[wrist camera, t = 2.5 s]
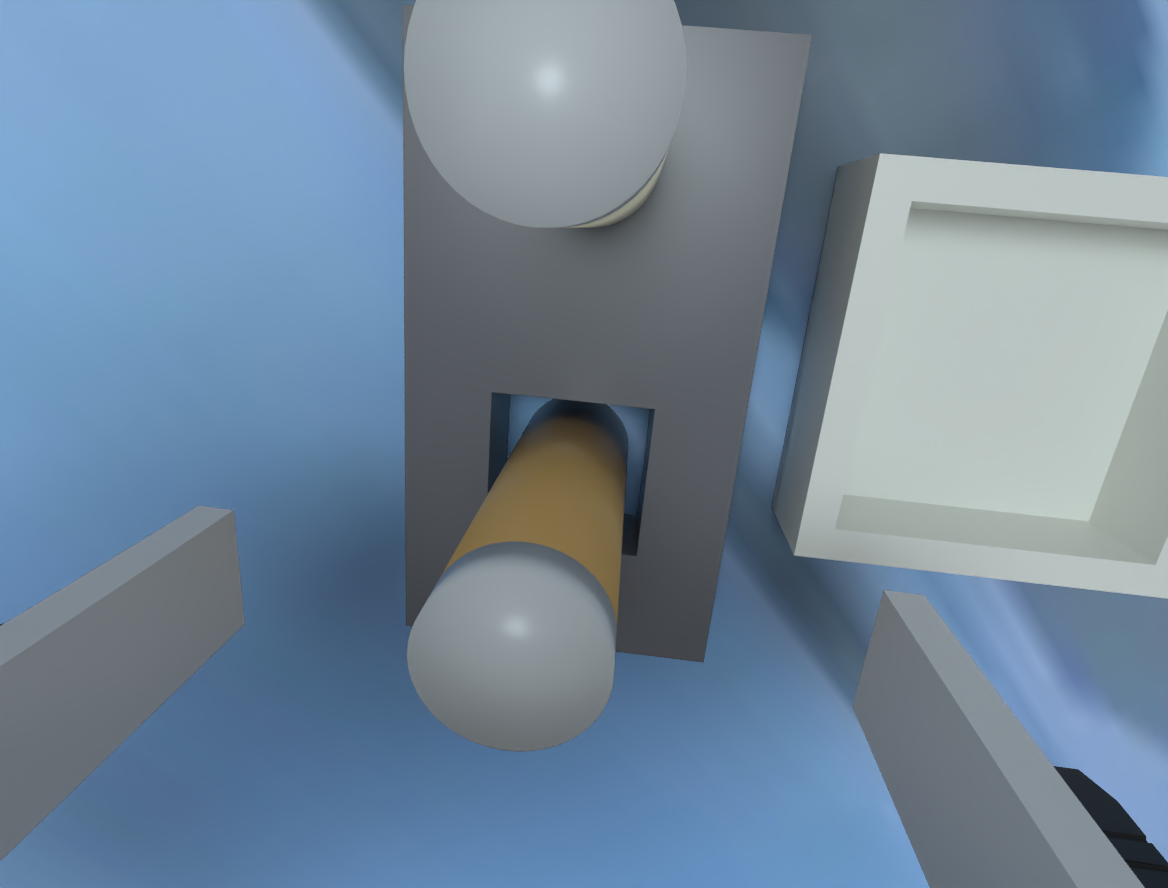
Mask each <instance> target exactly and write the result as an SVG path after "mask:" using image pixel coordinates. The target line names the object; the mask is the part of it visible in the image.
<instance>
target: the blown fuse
mask: <svg viewBox="0 0 1168 888" xmlns="http://www.w3.org/2000/svg"><path fill="white" fill-rule="evenodd" d="M627 454H628V439H627V434H626V431H625V428H624V425H623V424H622V422H621V420H620V418H619V417H618V416H617V414H616V413H615V412H614V411H613V410H612V409H611V408H610V407H608V406H607V405H606V404H601V403H591V402H582V401H572V400H562V399H553V400H551V401H549V402H547V403H546V404H544V405H543V406H542V407H541V408H540V409H538V410H537V412H536V413H535V414H534V415H533V417H532V418H531V420H530V422H529V424H528V425H527V427H526V429H525V430H524V432H523V434H522V436H521V437H520V439H519V441H518V443H517V444H516V446H515V448H514V450H513V451H512V453H511V455H510V457H509V458H508V460H507V462H506V464H505V465H504V467H503V469H502V471H501V472H500V474H499V476H498V477H497V479H496V481H495V483H494V484H493V486H492V488H491V490H490V491H489V493H488V495H487V497H486V498H485V500H484V502H483V504H482V505H481V507H480V509H479V511H478V512H477V514H476V516H475V518H474V519H473V521H472V523H471V524H470V526H469V528H468V530H467V531H466V533H465V535H464V537H463V538H462V540H461V542H460V544H459V545H458V547H457V549H456V551H455V552H454V554H453V556H452V558H451V559H450V561H449V563H448V565H447V566H446V568H445V570H444V571H443V573H442V575H441V577H440V578H439V580H438V582H437V584H436V585H435V587H434V589H433V591H432V592H431V594H430V596H429V598H428V599H427V601H426V603H425V605H424V606H423V608H422V610H421V611H420V613H419V615H418V617H417V618H416V620H415V622H414V624H413V627H412V629H411V632H410V636H409V640H408V646H407V663H408V669H409V673H410V678H411V680H412V683H413V685H414V688H415V690H416V692H417V694H418V695H419V697H420V699H421V700H422V702H423V703H424V705H425V706H426V707H427V709H428V710H429V711H430V712H431V713H432V714H433V715H434V716H435V717H436V718H437V719H438V720H439V721H440V722H441V723H443V724H444V725H445V726H446V727H448V728H449V729H451V730H452V731H454V732H455V733H457V734H458V735H460V736H462V737H464V738H466V739H468V740H470V741H473V742H475V743H477V744H480V745H484V746H487V747H490V748H495V749H500V750H506V751H535V750H542V749H546V748H550V747H554V746H557V745H560V744H562V743H565V742H567V741H569V740H571V739H573V738H575V737H577V736H578V735H579V734H581V733H582V732H584V731H585V730H586V729H587V728H589V727H590V726H591V725H592V724H593V723H594V722H595V721H596V719H597V718H598V717H599V716H600V714H601V713H602V711H603V710H604V708H605V706H606V704H607V702H608V700H609V697H610V694H611V691H612V686H613V682H614V667H615V650H616V634H617V617H618V601H619V585H620V568H621V552H622V536H623V519H624V503H625V487H626V470H627Z"/></svg>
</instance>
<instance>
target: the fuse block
mask: <svg viewBox="0 0 1168 888" xmlns="http://www.w3.org/2000/svg"><path fill="white" fill-rule="evenodd" d="M811 38H812V35H805V34H792V33H778V32H764V31H751V30H737V29H724V28H710V27H696V26H683V25H682V24H681V21H680V18H679V14H678V11H677V8H676V4H675V2H674V0H416V3H415V5H414V6H410V5H403V149H404V341H405V532H406V626H413V624H414V622H415V620H416V618H417V617H418V615H419V613H420V611H421V610H422V608H423V606H424V605H425V603H426V601H427V599H428V598H429V596H430V594H431V592H432V591H433V589H434V587H435V585H436V584H437V582H438V580H439V578H440V577H441V575H442V573H443V571H444V570H445V568H446V566H447V565H448V563H449V561H450V559H451V558H452V556H453V554H454V552H455V551H456V549H457V547H458V545H459V544H460V542H461V540H462V538H463V537H464V535H465V533H466V531H467V530H468V528H469V526H470V524H471V523H472V521H473V519H474V518H475V516H476V514H477V512H478V511H479V509H480V507H481V505H482V504H483V502H484V500H485V498H486V497H487V495H488V493H489V491H490V490H491V488H492V486H493V484H494V483H495V481H496V479H497V477H498V476H499V474H500V472H501V471H502V469H503V467H504V465H505V464H506V462H507V442H508V422H509V402H510V394H515V395H524V396H534V397H543V398H553V399H562V400H572V401H582V402H591V403H601V404H610V405H620V406H630V407H639V408H649V409H650V416H649V424H648V433H647V441H646V449H645V457H644V465H643V473H642V481H641V490H640V498H639V506H638V514H637V516H634V515H625V514H624V519H623V536H622V552H621V568H620V585H619V601H618V617H617V634H616V650H615V651H616V652H624V653H632V654H640V655H648V656H656V657H664V658H672V659H680V660H688V661H696V662H704V656H705V650H706V644H707V638H708V633H709V627H710V621H711V615H712V610H713V604H714V598H715V592H716V587H717V581H718V575H719V569H720V563H721V558H722V552H723V546H724V540H725V535H726V529H727V523H728V517H729V512H730V506H731V500H732V494H733V488H734V483H735V477H736V471H737V465H738V460H739V454H740V448H741V442H742V436H743V431H744V425H745V419H746V413H747V408H748V402H749V396H750V390H751V385H752V379H753V373H754V367H755V361H756V356H757V350H758V344H759V338H760V333H761V327H762V321H763V315H764V310H765V304H766V298H767V292H768V286H769V281H770V275H771V269H772V263H773V258H774V252H775V246H776V240H777V235H778V229H779V223H780V217H781V211H782V206H783V200H784V194H785V188H786V183H787V177H788V171H789V165H790V160H791V154H792V148H793V142H794V136H795V131H796V125H797V119H798V113H799V108H800V102H801V96H802V90H803V84H804V79H805V73H806V67H807V61H808V56H809V50H810V44H811Z"/></svg>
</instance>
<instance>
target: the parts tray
mask: <svg viewBox="0 0 1168 888" xmlns="http://www.w3.org/2000/svg"><path fill="white" fill-rule="evenodd" d="M772 509H773V511H774V513H775V516H776V518H777V520H778V522H779V524H780V526H781V529H782V531H783V533H784V535H785V537H786V539H787V541H788V544H789V546H790V548H791V550H792V552H793V554H794V556H803V557H811V558H820V559H829V560H838V561H846V562H855V563H864V564H872V565H881V566H890V567H899V568H907V569H916V570H925V571H933V572H942V573H951V574H959V575H968V576H977V577H986V578H994V579H1003V580H1012V581H1020V582H1029V583H1038V584H1047V585H1055V586H1064V587H1073V588H1081V589H1090V590H1099V591H1108V592H1116V593H1125V594H1134V595H1142V596H1151V597H1160V598H1168V177H1159V176H1147V175H1135V174H1123V173H1111V172H1098V171H1086V170H1074V169H1062V168H1050V167H1038V166H1026V165H1013V164H1001V163H989V162H977V161H965V160H953V159H941V158H928V157H916V156H904V155H892V154H877V155H874V156H870V157H867V158H864V159H861V160H857V161H854V162H851V163H848V164H844V165H841V166H838V171H837V177H836V182H835V187H834V192H833V197H832V202H831V207H830V212H829V217H828V222H827V228H826V233H825V238H824V243H823V248H822V253H821V258H820V263H819V268H818V273H817V279H816V284H815V289H814V294H813V299H812V304H811V309H810V314H809V319H808V324H807V330H806V335H805V340H804V345H803V350H802V355H801V360H800V365H799V370H798V376H797V381H796V386H795V391H794V396H793V401H792V406H791V411H790V416H789V421H788V427H787V432H786V437H785V442H784V447H783V452H782V457H781V462H780V467H779V472H778V478H777V483H776V488H775V493H774V498H773V503H772Z"/></svg>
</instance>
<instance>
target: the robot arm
mask: <svg viewBox="0 0 1168 888" xmlns="http://www.w3.org/2000/svg"><path fill="white" fill-rule="evenodd" d="M244 625H245V622H244V611H243V601H242V590H241V580H240V570H239V559H238V549H237V539H236V528H235V518H234V510H229V509H221V508H213V507H205V506H197V507H195V508H194V509H192V510H191V511H189V512H187V513H186V514H184V515H182V516H181V517H179V518H177V519H176V520H174V521H172V522H171V523H169V524H167V525H166V526H164V527H163V528H161V529H159V530H158V531H156V532H154V533H153V534H151V535H149V536H148V537H146V538H144V539H143V540H141V541H139V542H138V543H136V544H135V545H133V546H131V547H130V548H128V549H126V550H125V551H123V552H121V553H120V554H118V555H116V556H115V557H113V558H111V559H110V560H108V561H107V562H105V563H103V564H102V565H100V566H98V567H97V568H95V569H93V570H92V571H90V572H88V573H87V574H85V575H83V576H82V577H80V578H79V579H77V580H75V581H74V582H72V583H70V584H69V585H67V586H65V587H64V588H62V589H60V590H59V591H57V592H55V593H54V594H52V595H51V596H49V597H47V598H46V599H44V600H42V601H41V602H39V603H37V604H36V605H34V606H32V607H31V608H29V609H27V610H26V611H24V612H23V613H21V614H19V615H18V616H16V617H14V618H13V619H11V620H9V621H8V622H6V623H3V624H0V861H1V860H2V859H3V858H4V857H5V856H6V855H7V854H8V853H9V852H10V851H11V850H12V849H13V848H14V847H16V846H17V845H18V844H19V843H20V842H21V841H22V840H23V839H24V838H25V837H26V836H27V835H28V834H29V833H30V832H31V831H32V830H33V829H34V828H35V827H36V826H37V825H38V824H39V823H40V822H41V821H42V820H43V819H44V818H45V817H46V816H47V815H49V814H50V813H51V812H52V811H53V810H54V809H55V808H56V807H57V806H58V805H59V804H60V803H61V802H62V801H63V800H64V799H65V798H66V797H67V796H68V795H69V794H70V793H71V792H72V791H73V790H74V789H75V788H76V787H77V786H78V785H79V784H81V783H82V782H83V781H84V780H85V779H86V778H87V777H88V776H89V775H90V774H91V773H92V772H93V771H94V770H95V769H96V768H97V767H98V766H99V765H100V764H101V763H102V762H103V761H104V760H105V759H106V758H107V757H108V756H109V755H110V754H111V753H113V752H114V751H115V750H116V749H117V748H118V747H119V746H120V745H121V744H122V743H123V742H124V741H125V740H126V739H127V738H128V737H129V736H130V735H131V734H132V733H133V732H134V731H135V730H136V729H137V728H138V727H139V726H140V725H141V724H142V723H143V722H144V721H146V720H147V719H148V718H149V717H150V716H151V715H152V714H153V713H154V712H155V711H156V710H157V709H158V708H159V707H160V706H161V705H162V704H163V703H164V702H165V701H166V700H167V699H168V698H169V697H170V696H171V695H172V694H173V693H174V692H175V691H176V690H178V689H179V688H180V687H181V686H182V685H183V684H184V683H185V682H186V681H187V680H188V679H189V678H190V677H191V676H192V675H193V674H194V673H195V672H196V671H197V670H198V669H199V668H200V667H201V666H202V665H203V664H204V663H205V662H206V661H207V660H208V659H209V658H211V657H212V656H213V655H214V654H215V653H216V652H217V651H218V650H219V649H220V648H221V647H222V646H223V645H224V644H225V643H226V642H227V641H228V640H229V639H230V638H231V637H232V636H233V635H234V634H235V633H236V632H237V631H238V630H239V629H240V628H241V627H243V626H244ZM853 709H854V711H855V713H856V716H857V718H858V720H859V723H860V725H861V727H862V730H863V732H864V734H865V737H866V739H867V741H868V744H869V746H870V748H871V751H872V753H873V755H874V758H875V760H876V762H877V765H878V767H879V769H880V772H881V774H882V777H883V779H884V781H885V784H886V786H887V788H888V791H889V793H890V795H891V798H892V800H893V802H894V805H895V807H896V809H897V812H898V814H899V816H900V819H901V821H902V823H903V826H904V828H905V830H906V833H907V835H908V838H909V840H910V842H911V845H912V847H913V849H914V852H915V854H916V856H917V859H918V861H919V863H920V866H921V868H922V870H923V873H924V875H925V877H926V880H927V882H928V884H929V887H930V888H1168V862H1167V861H1166V860H1165V859H1164V857H1163V856H1162V855H1161V854H1160V853H1159V851H1158V850H1157V849H1156V848H1155V847H1154V845H1153V844H1152V843H1147V841H1146V836H1145V834H1144V833H1143V832H1142V831H1141V829H1140V828H1139V827H1138V826H1137V825H1136V823H1135V822H1134V821H1133V820H1132V818H1131V817H1130V816H1129V815H1128V814H1127V812H1126V811H1125V810H1124V809H1123V807H1122V806H1121V805H1120V804H1119V803H1118V801H1116V800H1115V799H1114V798H1113V797H1112V796H1110V795H1109V794H1108V793H1107V792H1105V791H1104V790H1103V789H1102V788H1100V787H1099V786H1098V785H1097V784H1096V783H1094V782H1093V781H1092V780H1091V779H1089V778H1088V777H1087V776H1086V775H1084V774H1083V773H1082V772H1081V771H1079V770H1078V769H1070V768H1063V767H1056V766H1053V765H1052V764H1051V763H1050V761H1049V760H1048V759H1047V757H1046V756H1045V755H1044V753H1043V752H1042V751H1041V749H1040V748H1039V747H1038V745H1037V744H1036V743H1035V741H1034V740H1033V739H1032V737H1031V736H1030V735H1029V733H1028V732H1027V731H1026V729H1025V728H1024V727H1023V725H1022V724H1021V723H1020V721H1019V720H1018V719H1017V717H1016V716H1015V715H1014V713H1013V712H1012V711H1011V709H1010V708H1009V707H1008V706H1007V704H1006V703H1005V702H1004V700H1003V699H1002V698H1001V696H1000V695H999V694H998V692H997V691H996V690H995V688H994V687H993V686H992V684H991V683H990V682H989V680H988V679H987V678H986V676H985V675H984V674H983V672H982V671H981V670H980V668H979V667H978V666H977V664H976V663H975V662H974V660H973V659H972V658H971V656H970V655H969V654H968V652H967V651H966V650H965V648H964V647H963V646H962V645H961V643H960V642H959V641H958V639H957V638H956V637H955V635H954V634H953V633H952V631H951V630H950V629H949V627H948V626H947V625H946V623H945V622H944V621H943V619H942V618H941V617H940V615H939V614H938V613H937V611H936V610H935V609H934V607H933V606H932V605H931V603H930V602H929V601H928V599H927V598H926V597H925V595H919V594H911V593H902V592H894V591H886V590H884V591H883V595H882V598H881V602H880V606H879V610H878V613H877V617H876V621H875V624H874V628H873V632H872V636H871V639H870V643H869V647H868V651H867V654H866V658H865V662H864V666H863V669H862V673H861V677H860V681H859V684H858V688H857V692H856V696H855V699H854V703H853Z"/></svg>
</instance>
